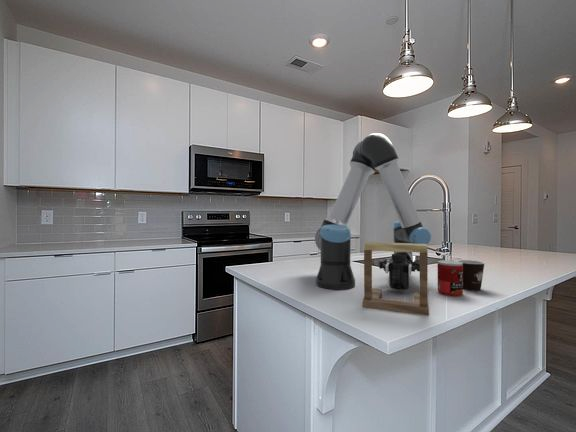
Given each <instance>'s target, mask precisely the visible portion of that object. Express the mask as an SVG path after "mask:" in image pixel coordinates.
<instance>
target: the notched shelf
mask: <svg viewBox="0 0 576 432" xmlns="http://www.w3.org/2000/svg"><path fill="white" fill-rule="evenodd" d="M373 251H376V252H378V251H382V252H394V251H397V252H412V253H419V260H420V271H419V292H413V301H405V300H398V299H388V298H382V297H383V289H381V288H380V289H379V288H373V270H372V269H373ZM428 266H429V265H428V244H410V243H394V242H383V241H380V242H379V241H366V242H365V243H364V250H363V273H364V274H363V287H364V288H363V290H364V291H363V296H364V297H363V299H362V307H363V308H367V309H368V308H370V309H378V310H385V311H394V312H400V313H401V312H402V313H408V314H418V315H423V316H424V315H425V316H429V315H430V307H429V299H428V297H429V296H428V292H429V291H428V290H429V289H428V274H429V271H428Z"/></svg>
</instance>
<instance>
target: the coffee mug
mask: <svg viewBox="0 0 576 432" xmlns="http://www.w3.org/2000/svg"><path fill="white" fill-rule="evenodd" d="M457 261H458V262H462V263H463V291H467V290H468V291H467V292H480V291H482V282H483V277H484V276H483V275H484V270H485V262H484V261H481V260H479V261H478V260H471V259H460V260H457Z"/></svg>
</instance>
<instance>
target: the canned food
mask: <svg viewBox="0 0 576 432" xmlns="http://www.w3.org/2000/svg"><path fill="white" fill-rule="evenodd" d="M437 292H438V294H441V295H444V296H448V297H461V296H462V295H463V293H464V290H463V263H462V262H458V260H447V259H446V260H438V261H437Z"/></svg>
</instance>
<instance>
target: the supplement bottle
mask: <svg viewBox="0 0 576 432" xmlns="http://www.w3.org/2000/svg"><path fill="white" fill-rule="evenodd" d="M390 259H392V261H391V262H390V263H389V272H388V285H389V286H388V287H389V288H390V289H392V290H398V291H405V290H406V291H407V290H409V288H410V275H409V264H408V263H407V262H406V254H394V253H392V254H391V258H390Z"/></svg>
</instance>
